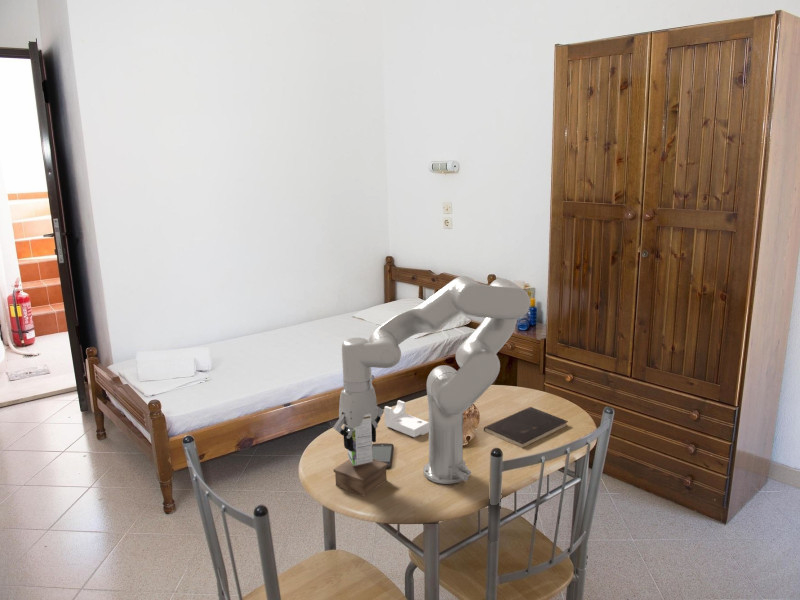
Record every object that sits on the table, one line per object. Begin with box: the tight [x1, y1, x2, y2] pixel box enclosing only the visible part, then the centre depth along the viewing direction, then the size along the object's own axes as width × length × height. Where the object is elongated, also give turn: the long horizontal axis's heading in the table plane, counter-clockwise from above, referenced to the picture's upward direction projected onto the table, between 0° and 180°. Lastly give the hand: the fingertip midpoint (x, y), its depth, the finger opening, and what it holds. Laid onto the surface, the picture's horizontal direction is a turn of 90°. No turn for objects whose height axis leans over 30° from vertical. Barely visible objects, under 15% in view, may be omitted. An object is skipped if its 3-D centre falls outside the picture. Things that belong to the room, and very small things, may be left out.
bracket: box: [384, 399, 429, 438], centre depth 206 cm, size 13×7×8 cm, turn 46°
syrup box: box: [347, 413, 374, 466], centre depth 172 cm, size 6×6×14 cm
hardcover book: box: [483, 406, 569, 449], centre depth 205 cm, size 16×23×2 cm
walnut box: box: [332, 458, 388, 497], centre depth 175 cm, size 11×11×5 cm
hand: (360, 444), depth 172 cm, fingers closed on syrup box, 7 cm apart
